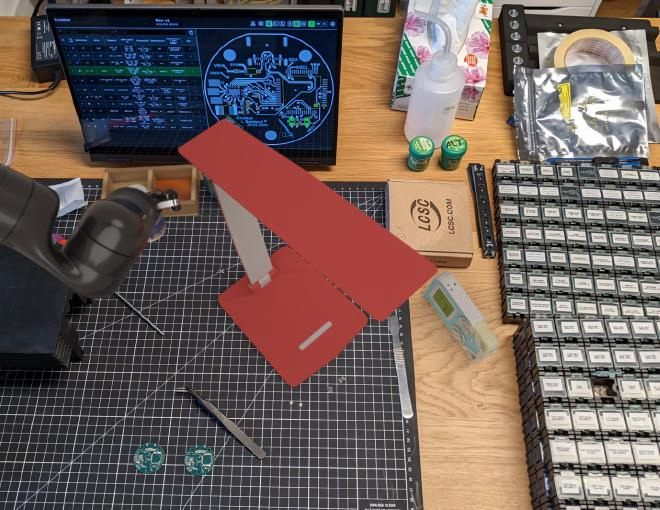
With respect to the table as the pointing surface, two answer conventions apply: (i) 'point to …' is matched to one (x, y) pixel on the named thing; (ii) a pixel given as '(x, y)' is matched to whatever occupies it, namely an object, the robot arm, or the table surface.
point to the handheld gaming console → (461, 316)
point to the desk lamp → (300, 254)
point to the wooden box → (159, 184)
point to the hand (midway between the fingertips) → (139, 199)
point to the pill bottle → (160, 222)
